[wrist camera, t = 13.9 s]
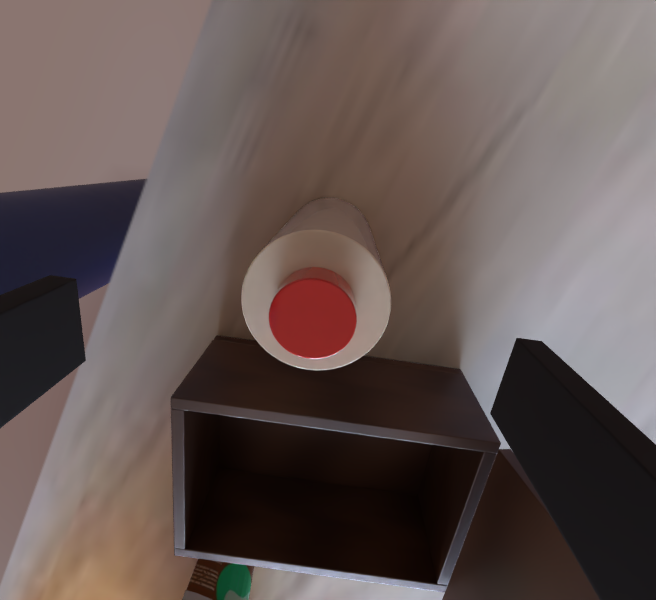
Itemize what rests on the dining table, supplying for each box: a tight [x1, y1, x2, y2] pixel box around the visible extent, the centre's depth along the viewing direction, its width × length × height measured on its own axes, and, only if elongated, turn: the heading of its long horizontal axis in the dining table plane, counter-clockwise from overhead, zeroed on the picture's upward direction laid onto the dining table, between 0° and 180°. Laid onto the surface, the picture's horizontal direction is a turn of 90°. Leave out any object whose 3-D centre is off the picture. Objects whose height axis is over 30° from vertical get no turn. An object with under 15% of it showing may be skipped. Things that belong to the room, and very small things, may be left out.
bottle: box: [241, 198, 391, 370], centre depth 20 cm, size 6×6×14 cm
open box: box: [171, 336, 501, 592], centre depth 28 cm, size 20×14×8 cm
